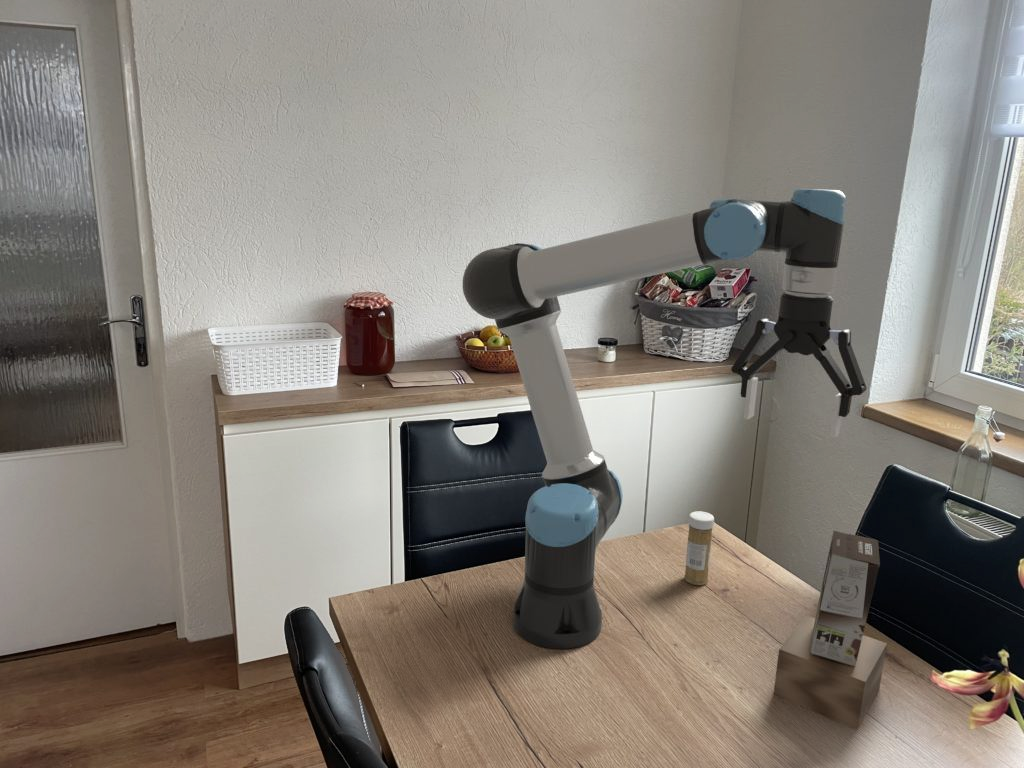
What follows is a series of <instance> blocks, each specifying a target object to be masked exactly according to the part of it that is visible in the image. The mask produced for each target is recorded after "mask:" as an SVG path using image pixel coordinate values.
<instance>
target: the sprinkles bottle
mask: <svg viewBox="0 0 1024 768" xmlns="http://www.w3.org/2000/svg"><path fill="white" fill-rule="evenodd" d="M688 526H689V527H688V535H687V536H688V537H687V543H686V544H687V547H686V557H685V571H684V572H685V573H684V575H683V579H684V580H685V582H687V583H688V584H690V585H692V586H693V585H695V586H703V585H707V583H708V581H709V570H710V563H711V548H712V547H711V546H712V536H713V535H712V534H713V528H714V526H715V517H714V515H713V514H711V513H709V512H706V511H701V510H699V511H697V510H695V511H692V512H690V513H689V516H688Z"/></svg>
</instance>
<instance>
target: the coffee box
mask: <svg viewBox="0 0 1024 768" xmlns="http://www.w3.org/2000/svg"><path fill="white" fill-rule="evenodd" d="M879 551H880V550H879V540H877V539H874V538H871V537H867V536H865V537H864V536H861V535H858V534H857V535H856V534H852V533H845V532H841V531H837V530H833V532H832V535H831V542H830V546H829V550H828V555H827V560H826V564H825V569H824V574H823V578H822V580H823V581H822V585H821V587H820V588H821V589H820V593H819V599H818V603H817V609H816V612H815V617H814V618H815V623H814V629H813V637H812V645H811V653H812V654H815V655H819V656H822V657H825V658H829V659H832V660H835V661H838V662H842V663H845V664H848V665H851V666H855V665H856V661H857V657H858V653H859V649H860V645H861V641H862V636H863V635H864V631H865V628H866V627H865V626H866V624H867V620H868V615H869V610H870V606H871V602H872V599H873V598H872V597H873V594H874V589H875V585H876V581H877V576H878V572H879V569H880V566H881V560H880V552H879Z"/></svg>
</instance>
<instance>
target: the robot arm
mask: <svg viewBox="0 0 1024 768" xmlns="http://www.w3.org/2000/svg"><path fill="white" fill-rule="evenodd" d="M846 201H847V197H846V195H845V194H844V193H843V192H842V191H841V190H838V189H820V188H818V189H817V188H815V189H814V188H813V189H812V188H811V189H810V188H797V189H795V190H794V191H793V194H792V196H791V198H790V201H789V200H788V201H770V200H769V201H768V200H754V199H737V198H726V199H715V200H712V202H711V203H710V205H709V208H707V209H702V210H698V211H695V212H690V213H685V214H681V215H677V216H673V217H670V218H664V219H661V220H656V221H653V222H652V221H651V222H648V223H644V224H641V225H636V226H632V227H627V228H623V229H620V230H616V231H611V232H607V233H604V234H600V235H599V234H598V235H594V236H592V237H591V236H589V237H587V238H583V239H578V240H576V241H570V242H565V243H562V244H558V245H555V246H549V247H546V248H541V247H539V246H538V245H535V244H530V243H523V242H519V243H518V242H517V243H512V244H508V245H506V246H505V245H504V246H500V247H497V248H490V249H486V250H484V251H482V252H480V253H478V254H477V255H475V256H474V257H473V258H472V259H471V260H470V261H469V262H468V264H467V266H466V268H465V270H464V272H463V276H462V292H463V296H464V298H465V300H466V302H467V304H468V305H469V306H470V308H471V309H472V310H473V311H474V312H476V314H477V315H480V316H482V317H484V318H487V319H490V320H494V322H495V324H496V325H495V326H496V327H497V331H499V332H500V333H502V334H504V335H506V336H507V337H508V338H509V341H510V344H511V348H512V351H513V354H514V358H515V361H516V364H517V367H518V370H519V374H520V377H521V381H522V384H523V388H524V390H525V394H526V398H527V399H528V403H529V406H530V411H531V413H532V418H533V421H534V423H535V426H536V430H537V435H538V436H539V439H540V443H541V447H542V449H543V453H544V456H545V459H546V466H545V468H544V470H543V471H542V475H541V476H542V479H543V482H544V486H542V487H541V488H539V489H538V490H536V491H534V492H533V493H532V495H531V496H530V498H529V500H528V502H527V507H526V510H525V511H526V512H525V517H524V521H525V539H524V540H525V543H524V544H525V546H524V548H525V549H524V550H525V551H524V581H523V583H522V585H521V588H520V591H519V593H518V596H517V598H516V600H515V603H514V606H513V610H512V626H513V629H514V631H515V632H516V633H517V634H518V635H519V636H520V637H521V638H522V639H524V640H526V641H527V642H529V643H532V644H534V645H536V646H540V647H544V648H548V649H558V650H560V649H561V650H562V649H574V648H579V647H583V646H585V645H588V644H589V643H592V642H593V641H594V640H595V639H597V637H598V636H599V635H600V634H601V632H602V626H603V625H602V623H603V613H602V609H601V608H600V603H599V599H598V596H597V592H596V589H595V584H594V580H595V579H594V578H595V566H596V565H595V563H596V550H597V547H598V545H599V544H600V542H601V541H602V539H603V538H604V536H605V535H606V534H607V533H608V530H609V528H611V526H612V525H613V524H614V523H615V522H616V519H617V518H618V516H619V514H620V511H621V507H622V504H623V496H624V495H623V489H622V485H621V483H620V480H619V478H618V477H617V475H616V473H614V471H612V470H610V469H608V466H607V462H606V460H605V459H606V458H605V456H604V455H603V454H601V453H599V452H597V451H596V450H594V449H593V445H592V442H591V438H590V435H589V431H588V428H587V424H586V421H585V418H584V414H583V411H582V407H581V404H580V401H579V397H578V395H577V391H576V387H575V384H574V380H573V377H572V374H571V369H570V367H569V363H568V360H567V358H566V357H567V356H566V354H565V350H564V348H563V347H564V346H563V343H562V340H561V336H560V333H559V331H558V327H557V320H558V318H559V316H560V314H561V313H562V309H561V306H560V303H559V299H558V297H562V296H565V295H570V294H574V293H579V292H583V291H584V292H585V291H588V290H593V289H596V288H602V287H606V286H610V285H615V284H620V283H624V282H629V281H634V280H638V279H643V278H647V277H653V276H657V275H661V274H666V273H671V272H675V271H680V270H684V269H688V268H692V267H693V268H694V267H698V266H704V265H707V264H714V263H718V262H724V261H736V260H742V259H744V258H747V257H749V256H751V255H753V254H755V252H773V253H774V252H775V253H785V259H784V267H783V276H782V286H781V289H782V290H784V291H785V292H783V293H781V294H780V300H779V308H778V317H777V318H778V319H777V321H776V322H775V321H771V320H769V318H766V317H764V318H761V319H759V320H757V322H756V325H755V330H754V333H753V335H752V336H751V337H750V338H749V340H748V342H747V343H746V345H745V347H744V348H743V349H742V351H741V353H740V354H739V356H738V357H737V359H736V360H735V362H734V363H733V365H732V366H731V372H732V373H733V374H737V375H739V376H740V377H741V385H740V388H741V389H740V397H741V398H745V402H744V410H743V417H742V418H743V419H744V420H747V421H748V420H750V419H751V418H753V417H754V416H755V409H756V400H757V392H758V386H759V385H758V384H759V377H755V374H756V373H758V372H759V371H760V370H761V369H762V368H763V367H765V366H766V365H767V364H768V363H769V362H770V361H771V360H772V359H774V358H775V357H776V356H777V355H778V354H779V353H781V352H782V351H783V350H785V351H786V352H787V353H790V354H797V353H798V354H800V355H802V356H809V355H813V356H814V358H815V359H816V360H817V361H818V362H819V363H820V365H821V367H822V368H823V370H824V371H825V373H826V374H827V375H828V377H829V379H830V380H831V382H832V383H833V384H834V386H835V389H837V391H838V392H839V393H838V394H836V395H835V396H834V403H833V408H832V416H831V422H830V429H829V430H830V431H829V438H834V439H835V438H836V437H837V436H838V435H840V432H841V425H842V417H843V418H846V417H848V415H849V414H850V412H851V411H850V410H851V404H852V398H853V397H854V396H860V395H862V394H864V393H866V391H867V390H868V389H867V385H866V383H865V379H864V377H863V373H862V370H861V368H860V365H859V363H858V360H857V357H856V354H855V352H854V349H853V347H852V331H851V330H850V329H848V328H845V329H843V330H836V329H835V330H833V329H832V328H831V317H832V316H831V315H832V310H833V303H834V299H833V297H832V296H831V294H833V293H834V292H835V287H836V280H837V270H838V266H839V265H838V263H839V258H840V257H839V256H840V250H841V243H842V236H843V230H844V225H845V214H846ZM772 330H773V331H774V333H775V335H776V336H777V341H776V342H774V344H772V345H771V346H770V348H769V349H767V350H766V351H765V352H764V353H762V355H761V356H759V357H758V358H757V359H756V360H754V362H753V363H751V364H750V365H749V366H748V367H746V366H747V364H748V363H749V361H750V360H751V358H752V357H753V356H754V354H755V353H756V351H757V350H758V348H759V346H760V345H761V343H762V342H763V341H764V339H765V337H766V335H769V334H770V333H771V332H772ZM830 339H832V340H833V343H834V345H837V346H838V351H839V354H840V357H841V360H842V363H843V365H844V369H845V371H846V374H847V376H848V379H849V380H848V379H847V377H846V376H845V374H844V373H843V372H842V369H841V368H840V366H839V365H838V364H837V363H836V361H835V359H834V358H833V356H832V355H831V351H830V350H829V348H828V347H827V345H826V343H827V342H828V341H829V340H830Z"/></svg>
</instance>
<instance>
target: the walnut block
mask: <svg viewBox="0 0 1024 768" xmlns="http://www.w3.org/2000/svg"><path fill="white" fill-rule="evenodd" d="M815 618H816V617H814V616H813V617H812V616H809V615H805V616H804V617H803V618H802V619H801V621H799V623H798V625H797V626H796V627H795V629H794V630H793V631H792V632H791V634H790V635H789V636H788V637H787V638H786V639H785V641H784V642H783V643H782V644H781V646H780V647H779V649H778V655H777V662H776V663H777V664H776V670H775V677H774V678H775V680H774V686H773V696H774V697H777V698H779V699H782V700H785V701H786V702H789V703H791V704H794V705H796V706H799V707H800V708H803V709H806V710H808V711H811V712H814V713H816V714H818V715H820V716H823V717H824V718H827V719H831V720H832V721H835V722H837V723H840V724H841V725H845V726H847V727H849V728H851V729H854V730H856V731H858V730H859V728H860V727H861V725H862V722H863V721H864V719H865V717H866V714H867V713H868V711H869V709H870V707H871V705H872V704H873V701H874V700H875V698H876V697H877V694H878V693H879V690H880V688H881V687H880V686H881V682H882V681H881V680H882V674H883V670H884V665H885V664H884V663H885V657H886V652H887V647H888V643H887V642H884V641H881V640H880V639H879V640H878V639H875V638H872V637H870V636H866V635H864V634H863V636H862V641H861V645H860V649H859V653H858V657H857V661H856V665H855V666H851V665H848V664H845V663H842V662H838V661H835V660H832V659H829V658H825V657H822V656H819V655H815V654H812V653H811V645H812V637H813V629H814V623H815Z"/></svg>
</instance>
